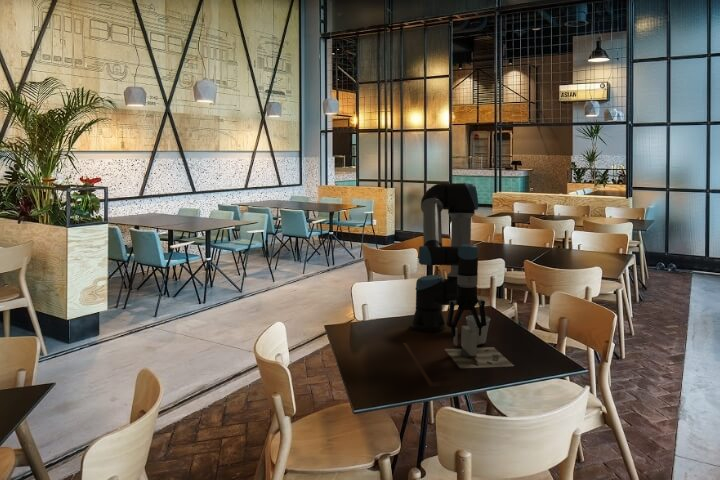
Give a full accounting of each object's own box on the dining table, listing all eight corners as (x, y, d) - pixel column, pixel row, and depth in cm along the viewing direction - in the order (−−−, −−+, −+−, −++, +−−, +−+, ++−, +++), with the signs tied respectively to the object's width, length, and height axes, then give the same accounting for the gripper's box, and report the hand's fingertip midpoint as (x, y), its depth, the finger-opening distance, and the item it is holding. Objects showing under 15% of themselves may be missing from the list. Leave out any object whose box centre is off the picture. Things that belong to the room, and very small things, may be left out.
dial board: (444, 352, 232) (444, 348, 232) (493, 350, 234) (493, 346, 234) (460, 371, 210) (460, 367, 210) (514, 369, 212) (514, 365, 212)
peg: (456, 351, 229) (456, 325, 228) (471, 350, 230) (471, 325, 228) (468, 364, 214) (468, 337, 213) (484, 363, 215) (484, 337, 213)
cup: (490, 348, 236) (490, 322, 234) (464, 347, 238) (465, 320, 236) (489, 341, 245) (490, 315, 244) (465, 340, 247) (465, 314, 246)
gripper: (443, 288, 219) (442, 348, 222) (496, 286, 221) (495, 346, 224) (438, 284, 226) (437, 342, 229) (490, 282, 228) (488, 340, 231)
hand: (465, 344), depth 227 cm, fingers open, 8 cm apart
